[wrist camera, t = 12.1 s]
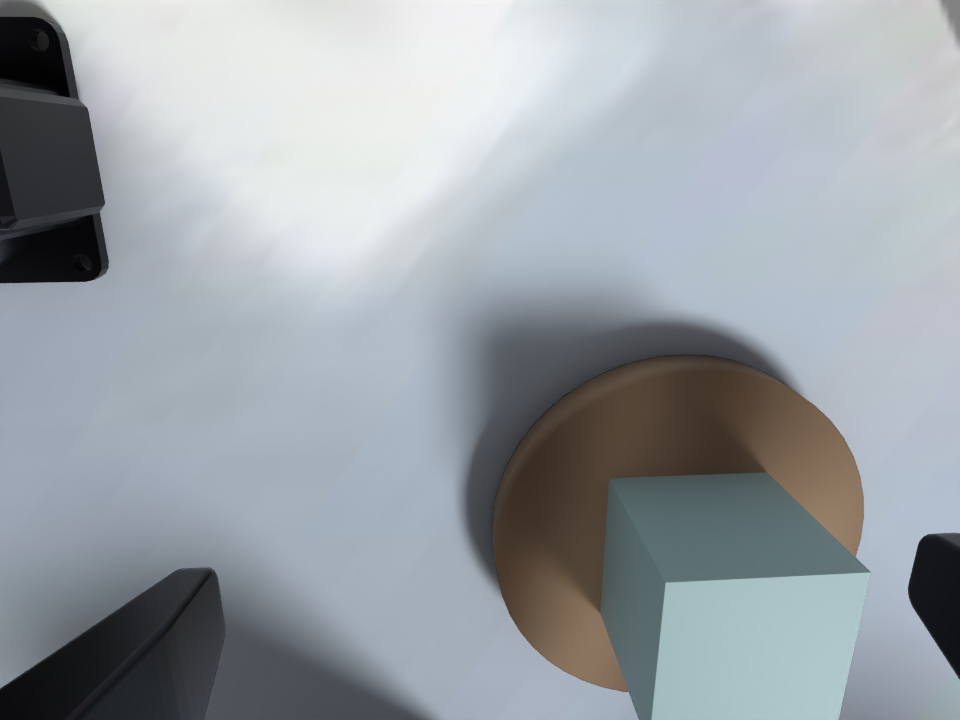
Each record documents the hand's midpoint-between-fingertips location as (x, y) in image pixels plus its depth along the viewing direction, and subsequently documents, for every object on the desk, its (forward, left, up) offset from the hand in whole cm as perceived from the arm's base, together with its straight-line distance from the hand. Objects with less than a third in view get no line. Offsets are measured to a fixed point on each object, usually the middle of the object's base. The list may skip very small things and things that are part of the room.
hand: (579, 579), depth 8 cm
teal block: (+6, -7, -10) cm, 14 cm away
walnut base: (+6, -7, -12) cm, 15 cm away
